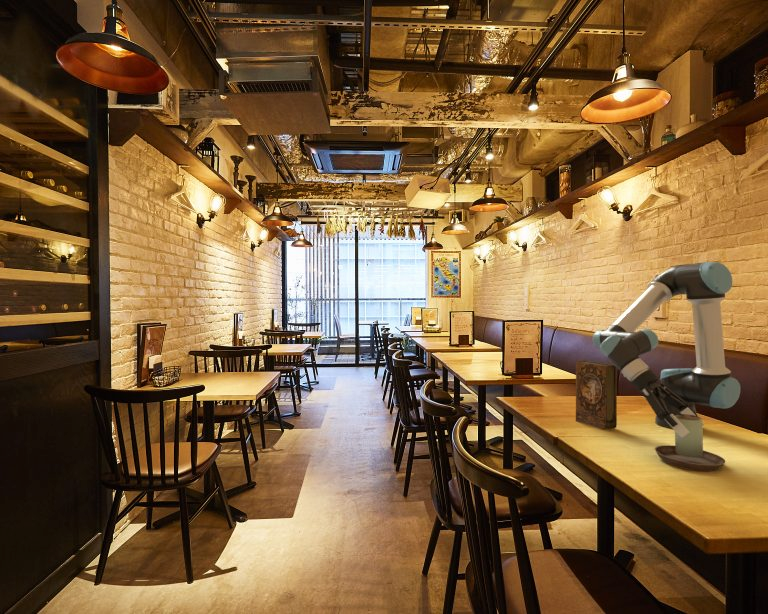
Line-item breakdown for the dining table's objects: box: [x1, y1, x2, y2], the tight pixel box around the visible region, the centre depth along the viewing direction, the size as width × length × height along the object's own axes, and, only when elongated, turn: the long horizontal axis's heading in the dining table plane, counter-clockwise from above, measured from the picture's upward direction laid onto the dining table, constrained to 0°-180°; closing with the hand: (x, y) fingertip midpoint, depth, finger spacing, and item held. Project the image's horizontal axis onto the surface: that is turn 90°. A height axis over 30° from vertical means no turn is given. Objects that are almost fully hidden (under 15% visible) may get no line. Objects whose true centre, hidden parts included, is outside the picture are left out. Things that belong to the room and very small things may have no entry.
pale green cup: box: [674, 414, 704, 457], centre depth 134 cm, size 7×7×11 cm
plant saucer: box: [654, 445, 726, 472], centre depth 134 cm, size 18×18×3 cm
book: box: [575, 360, 618, 430], centre depth 178 cm, size 16×6×25 cm, turn 22°
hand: (693, 431), depth 133 cm, fingers open, 13 cm apart
